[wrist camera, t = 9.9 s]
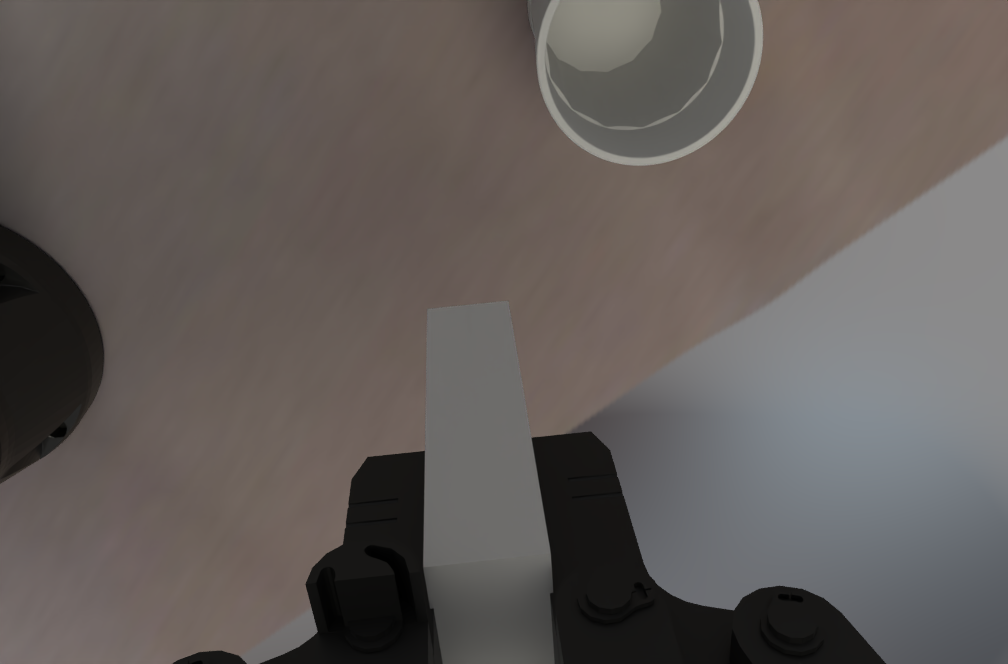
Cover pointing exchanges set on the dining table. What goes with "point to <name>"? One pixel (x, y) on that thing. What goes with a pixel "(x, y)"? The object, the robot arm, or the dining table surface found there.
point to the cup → (645, 72)
